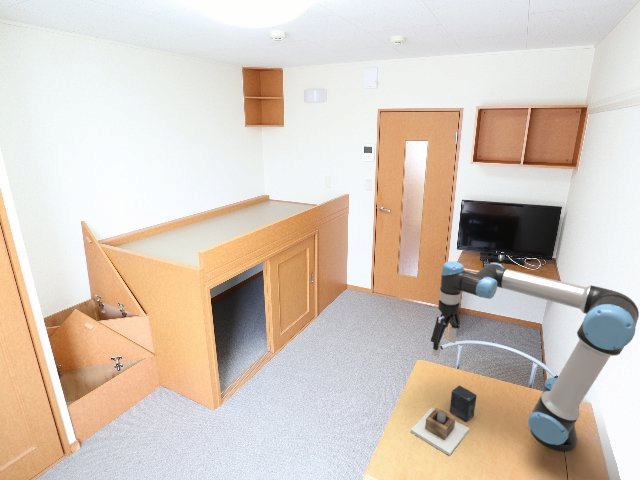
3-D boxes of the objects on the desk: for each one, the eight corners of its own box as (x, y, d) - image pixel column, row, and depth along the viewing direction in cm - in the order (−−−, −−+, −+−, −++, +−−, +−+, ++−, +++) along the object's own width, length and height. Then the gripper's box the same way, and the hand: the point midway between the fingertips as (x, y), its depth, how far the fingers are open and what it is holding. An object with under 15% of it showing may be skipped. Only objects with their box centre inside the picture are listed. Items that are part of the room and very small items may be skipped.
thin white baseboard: (468, 430, 149) (471, 413, 147) (449, 456, 138) (452, 437, 136) (431, 410, 160) (432, 393, 157) (410, 432, 149) (412, 414, 146)
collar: (454, 428, 149) (455, 417, 147) (444, 440, 143) (445, 429, 142) (435, 417, 154) (436, 407, 153) (425, 429, 149) (426, 418, 147)
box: (473, 416, 157) (477, 394, 153) (466, 422, 153) (469, 401, 150) (456, 405, 162) (459, 384, 159) (449, 411, 159) (451, 390, 156)
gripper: (454, 288, 160) (449, 333, 167) (424, 309, 143) (419, 358, 149) (472, 293, 155) (466, 339, 162) (443, 315, 138) (437, 366, 144)
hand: (443, 348), depth 156 cm, fingers open, 13 cm apart
